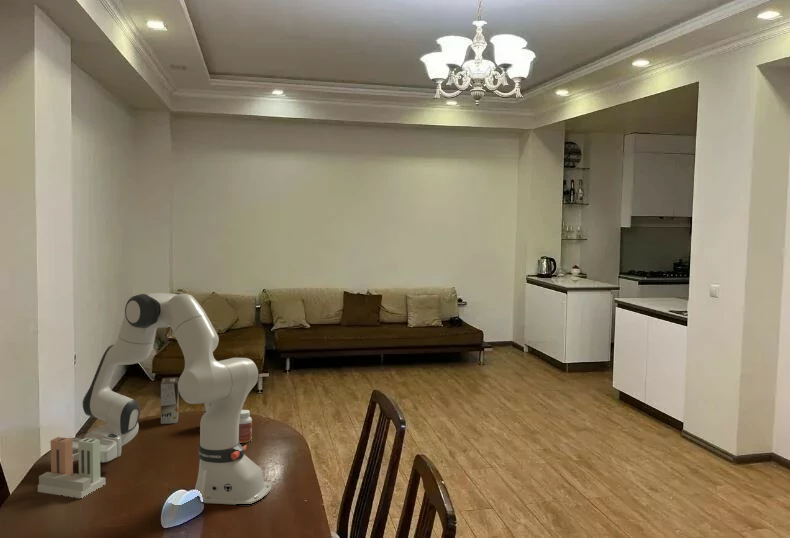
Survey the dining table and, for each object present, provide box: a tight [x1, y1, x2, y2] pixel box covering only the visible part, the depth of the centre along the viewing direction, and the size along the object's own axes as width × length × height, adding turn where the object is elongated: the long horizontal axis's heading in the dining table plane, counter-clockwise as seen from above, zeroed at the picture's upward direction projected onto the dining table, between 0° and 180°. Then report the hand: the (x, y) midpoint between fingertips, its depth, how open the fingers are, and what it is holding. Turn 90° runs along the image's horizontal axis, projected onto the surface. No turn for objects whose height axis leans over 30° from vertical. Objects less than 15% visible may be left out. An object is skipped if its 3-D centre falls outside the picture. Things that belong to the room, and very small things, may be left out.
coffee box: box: [160, 376, 179, 425], centre depth 247 cm, size 9×6×16 cm
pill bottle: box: [239, 409, 253, 443], centre depth 226 cm, size 6×6×11 cm
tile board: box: [37, 471, 107, 499], centre depth 185 cm, size 15×10×4 cm, turn 76°
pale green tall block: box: [78, 437, 101, 483], centre depth 186 cm, size 5×3×12 cm, turn 76°
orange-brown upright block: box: [50, 436, 74, 476], centre depth 186 cm, size 5×3×12 cm, turn 76°
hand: (65, 459), depth 188 cm, fingers closed, pressing on orange-brown upright block
